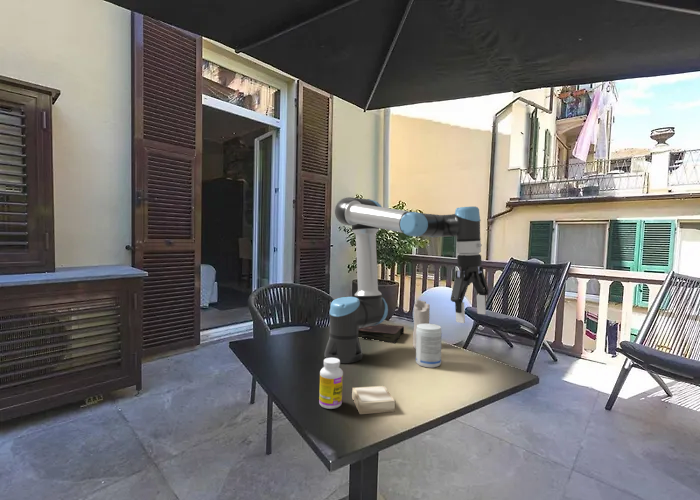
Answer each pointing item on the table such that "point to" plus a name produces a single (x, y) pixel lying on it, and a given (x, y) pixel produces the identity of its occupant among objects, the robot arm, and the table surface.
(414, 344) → the candle
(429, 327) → the supplement tub
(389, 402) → the birch plinth
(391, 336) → the diary
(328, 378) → the supplement bottle
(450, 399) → the table surface
